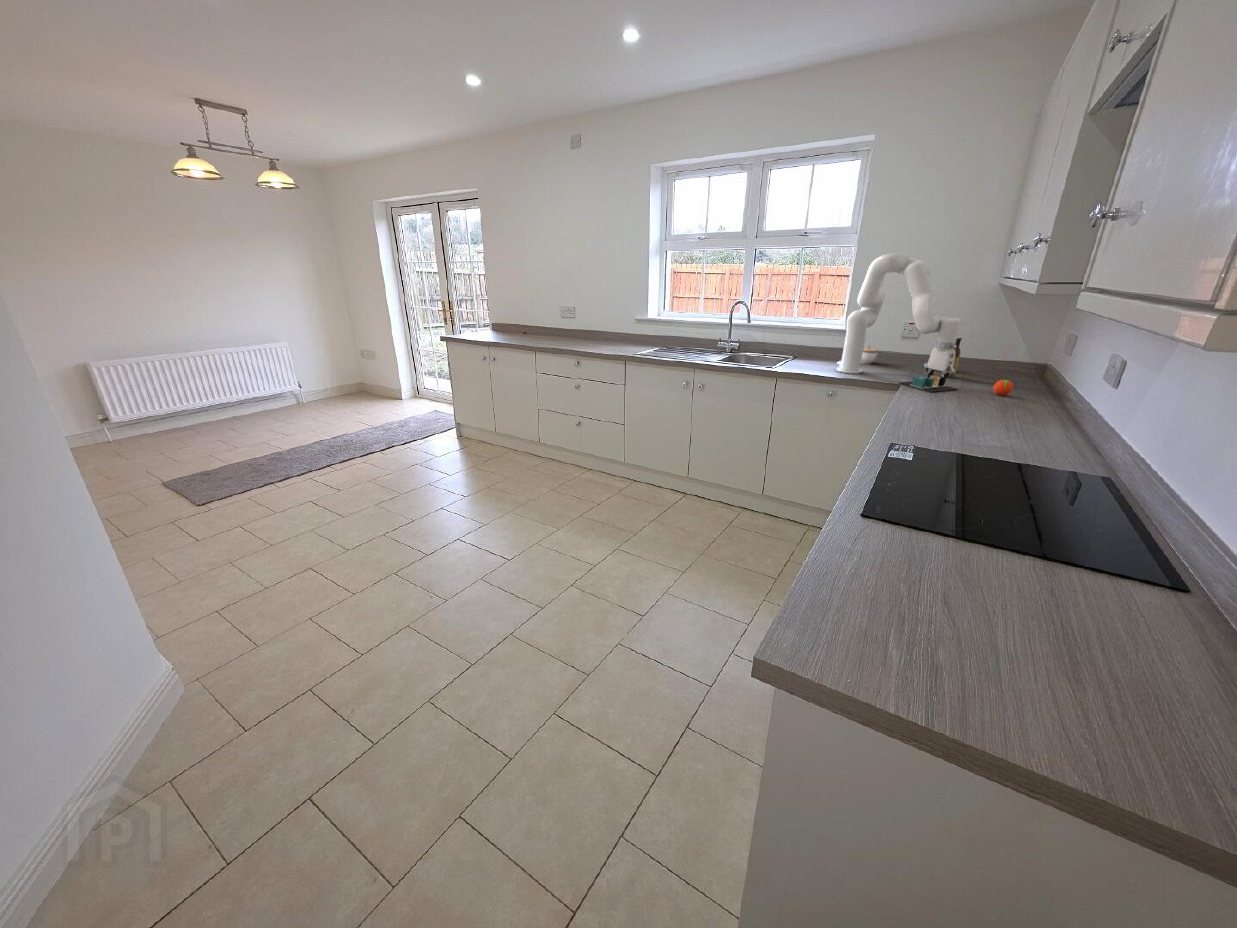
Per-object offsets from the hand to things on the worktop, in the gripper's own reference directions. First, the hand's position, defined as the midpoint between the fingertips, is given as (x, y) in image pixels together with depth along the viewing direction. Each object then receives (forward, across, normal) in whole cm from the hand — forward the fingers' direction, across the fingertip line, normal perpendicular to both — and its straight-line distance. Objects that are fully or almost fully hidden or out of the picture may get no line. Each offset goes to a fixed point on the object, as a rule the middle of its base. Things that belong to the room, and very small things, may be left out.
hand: (934, 383), depth 231 cm
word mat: (+1, 0, +4) cm, 4 cm away
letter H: (+1, 0, +8) cm, 8 cm away
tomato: (+2, -22, -14) cm, 26 cm away
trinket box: (+1, +54, -10) cm, 55 cm away
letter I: (+1, 0, 0) cm, 1 cm away
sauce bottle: (+1, +13, -24) cm, 27 cm away
